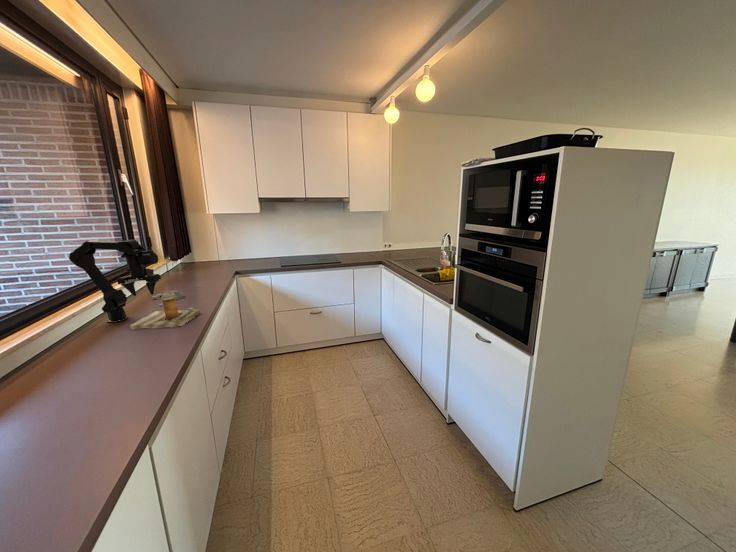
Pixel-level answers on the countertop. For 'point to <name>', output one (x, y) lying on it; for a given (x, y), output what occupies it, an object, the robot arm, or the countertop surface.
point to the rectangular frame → (157, 320)
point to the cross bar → (182, 315)
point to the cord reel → (170, 306)
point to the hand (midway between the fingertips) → (143, 295)
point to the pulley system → (178, 294)
